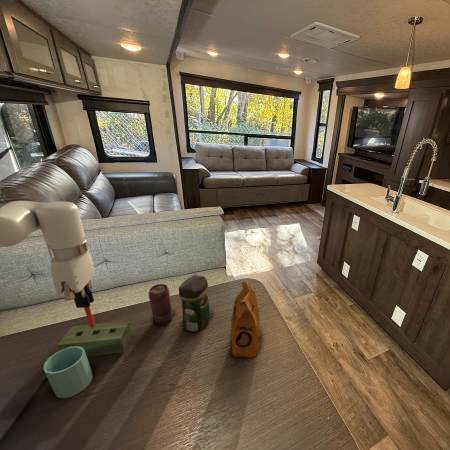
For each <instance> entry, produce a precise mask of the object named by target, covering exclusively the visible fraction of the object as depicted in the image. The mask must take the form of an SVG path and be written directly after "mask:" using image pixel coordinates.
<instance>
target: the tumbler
mask: <svg viewBox="0 0 450 450" xmlns="http://www.w3.org/2000/svg"><path fill="white" fill-rule="evenodd" d="M42 370H43V372H44V374H45V377H46V378H47V381H48V383H49V385H50V387H51V389H52V392H53V393H54V395H55V396H56V398H58V399H68V398H71V397H74V396H76V395H78V394H79V393H81V392H83V391H84V390H85V389H86V388H87V387H88V386H89V385H90V384H91V382H92V380H93V377H94V374H93V369H92V367H91V365H90V362H89V359H88V357H87V356H86V353H85V350H84V349H83V348H82V347H78V346H74V347H68V348H65V349H62V350H60V349H59V351H56V352H55V353H53V354H52V355H51V356H50V357H48V358H47V359H46V361H45V362H44V364H43V367H42Z"/></svg>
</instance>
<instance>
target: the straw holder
mask: <svg viewBox="0 0 450 450" xmlns="http://www.w3.org/2000/svg"><path fill="white" fill-rule="evenodd" d="M131 326H132V325H131V322H130V320H127V321H117V322H116V321H115V322H105V323H95V327H93V328H90V325H89V324H83V325H74V326H73V325H72V326H71V327H70V328H69V330H68V331H67V333H65V335H64V336H63V337H62V339H61V340H60V341H59V342H58V343H57V347H58V349H59V351H60V350H62V349H65V348H68V347H74V346H78V347H82V348H83V349H84V350H85V353H86V356H87V358H88V357H96V356H104V355H113V354H120V353H125V352H126V349H127V348H128V345H129V344H130V341H131V339H132V336H133V335H134V334H133V330H132V327H131Z"/></svg>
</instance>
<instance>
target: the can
mask: <svg viewBox="0 0 450 450" xmlns="http://www.w3.org/2000/svg"><path fill="white" fill-rule="evenodd" d="M169 288H170V287H169V286H168V285H167V284H164V283H158V284H155V285H153V286H151V287H150V289H149V292H148V299H149V303H150V308H151V314H152V318H153V323H154V324H155V325H157V326H165V325H168V324H169V323H170V322H171V321H172V319H173V318H174V314H173V307H172V301H171V296H170V295H171V294H170V293H171V292H170V289H169Z"/></svg>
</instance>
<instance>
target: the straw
mask: <svg viewBox="0 0 450 450" xmlns="http://www.w3.org/2000/svg"><path fill="white" fill-rule="evenodd" d="M83 309H84V312H85V316H86V318H87V322H88V325H90V328H93V327H95V324H96V323H95V319H94V317H93V313H92V310H91V306H90V307H84V308H83Z"/></svg>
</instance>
